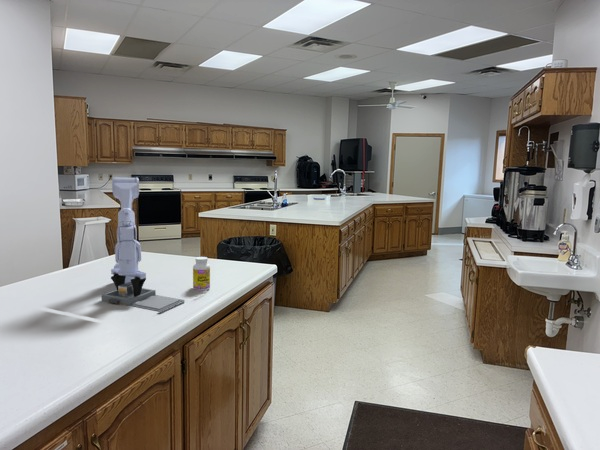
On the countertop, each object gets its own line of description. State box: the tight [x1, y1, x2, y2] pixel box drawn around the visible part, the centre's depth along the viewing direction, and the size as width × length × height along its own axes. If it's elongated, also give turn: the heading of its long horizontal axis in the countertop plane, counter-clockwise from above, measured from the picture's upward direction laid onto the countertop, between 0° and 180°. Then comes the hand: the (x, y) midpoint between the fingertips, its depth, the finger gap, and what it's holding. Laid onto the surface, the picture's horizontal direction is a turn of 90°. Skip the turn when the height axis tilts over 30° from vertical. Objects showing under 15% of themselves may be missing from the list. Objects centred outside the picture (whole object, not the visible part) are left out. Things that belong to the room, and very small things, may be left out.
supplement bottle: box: [192, 256, 211, 291], centre depth 175 cm, size 7×7×13 cm
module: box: [118, 282, 134, 299], centre depth 160 cm, size 4×6×5 cm, turn 157°
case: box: [101, 287, 185, 315], centre depth 157 cm, size 26×14×3 cm, turn 67°
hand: (129, 295), depth 160 cm, fingers open, 7 cm apart
